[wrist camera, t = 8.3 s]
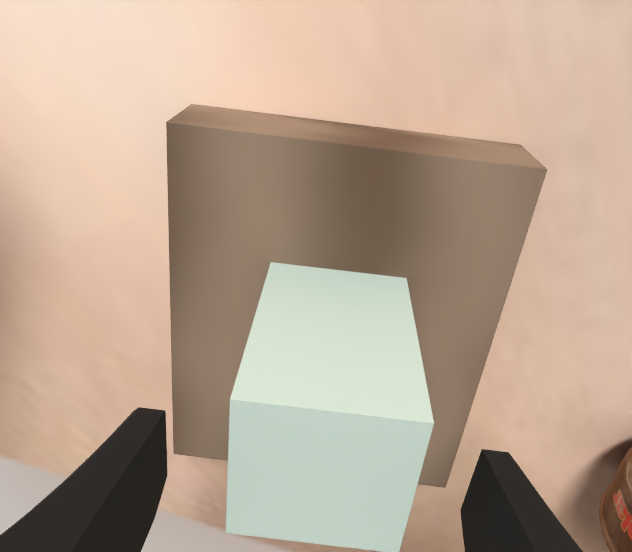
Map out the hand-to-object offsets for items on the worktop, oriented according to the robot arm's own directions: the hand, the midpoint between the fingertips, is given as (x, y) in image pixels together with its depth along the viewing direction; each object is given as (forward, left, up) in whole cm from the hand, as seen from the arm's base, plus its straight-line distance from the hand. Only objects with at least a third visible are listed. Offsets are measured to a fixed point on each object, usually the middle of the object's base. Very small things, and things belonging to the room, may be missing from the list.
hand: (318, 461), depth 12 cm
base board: (0, 0, -8) cm, 8 cm away
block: (0, 0, -5) cm, 5 cm away
